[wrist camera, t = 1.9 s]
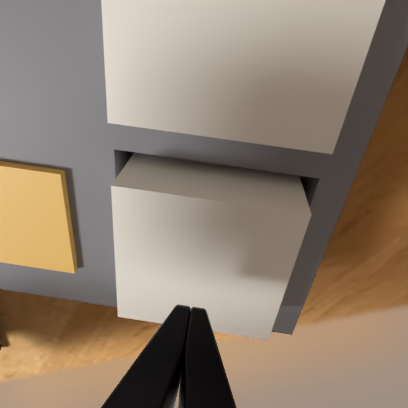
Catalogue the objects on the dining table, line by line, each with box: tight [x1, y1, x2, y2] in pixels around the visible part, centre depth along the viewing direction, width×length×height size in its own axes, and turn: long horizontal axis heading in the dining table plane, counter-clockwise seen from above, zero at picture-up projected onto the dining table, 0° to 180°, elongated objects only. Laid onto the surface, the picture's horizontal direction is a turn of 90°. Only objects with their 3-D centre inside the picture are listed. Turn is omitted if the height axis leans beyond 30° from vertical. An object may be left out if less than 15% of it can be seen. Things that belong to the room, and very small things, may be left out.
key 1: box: [111, 152, 312, 340], centre depth 12 cm, size 6×6×2 cm
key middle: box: [101, 0, 386, 154], centre depth 8 cm, size 6×6×2 cm
